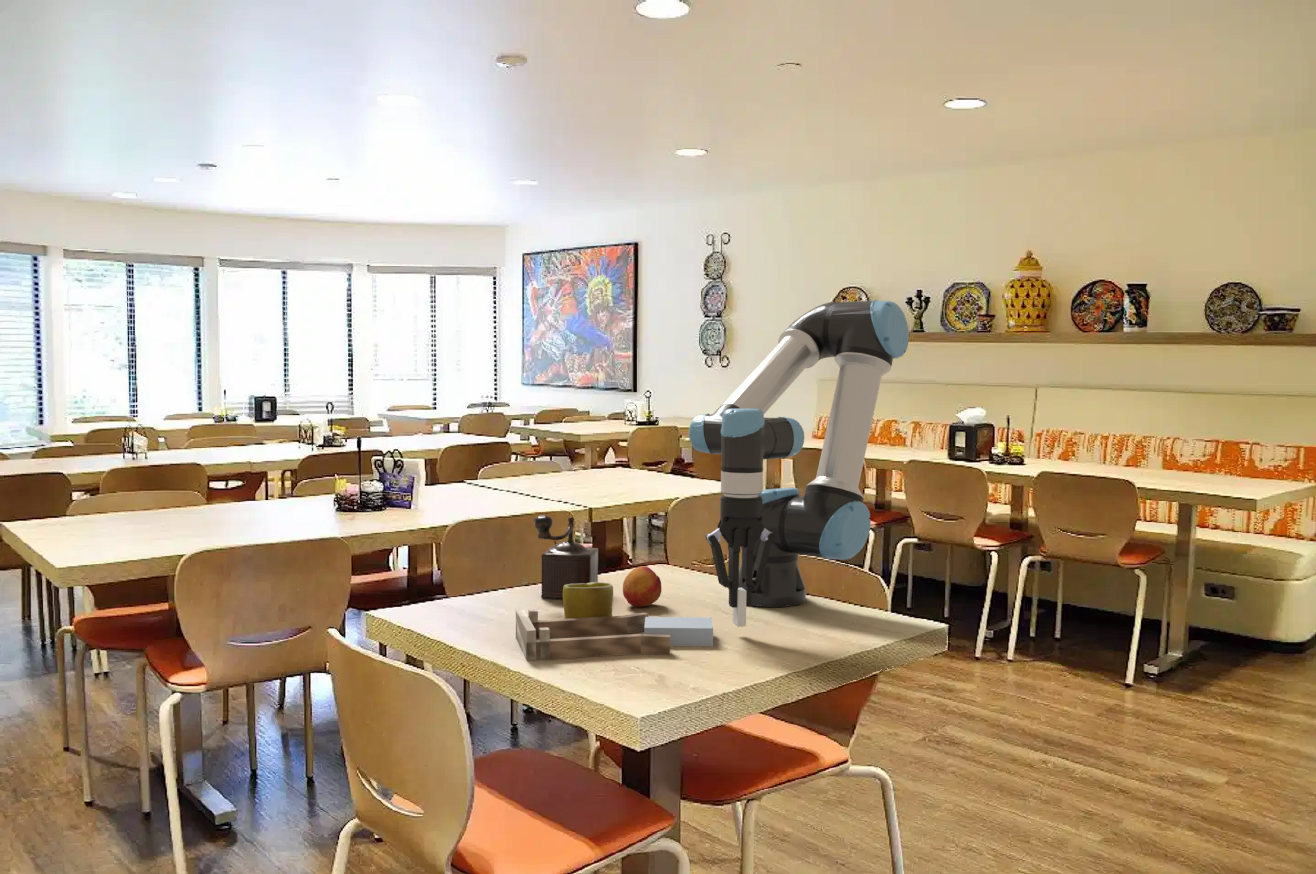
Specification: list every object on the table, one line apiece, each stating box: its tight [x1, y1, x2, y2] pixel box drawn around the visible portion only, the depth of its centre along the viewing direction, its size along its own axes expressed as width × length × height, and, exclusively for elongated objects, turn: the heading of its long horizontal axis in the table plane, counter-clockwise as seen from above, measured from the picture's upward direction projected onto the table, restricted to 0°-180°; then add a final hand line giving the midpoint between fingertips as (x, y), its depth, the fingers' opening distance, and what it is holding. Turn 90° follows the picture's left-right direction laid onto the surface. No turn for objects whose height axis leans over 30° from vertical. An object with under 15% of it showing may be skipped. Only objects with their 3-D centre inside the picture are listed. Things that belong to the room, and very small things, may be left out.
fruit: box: [622, 565, 662, 608], centre depth 221 cm, size 8×8×8 cm
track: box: [515, 608, 671, 661], centre depth 191 cm, size 24×18×5 cm
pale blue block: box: [643, 616, 714, 647], centre depth 195 cm, size 12×8×4 cm, turn 89°
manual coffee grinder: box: [533, 514, 599, 601], centre depth 228 cm, size 16×11×18 cm
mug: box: [562, 581, 614, 619], centre depth 204 cm, size 12×10×10 cm
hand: (739, 624), depth 198 cm, fingers closed
